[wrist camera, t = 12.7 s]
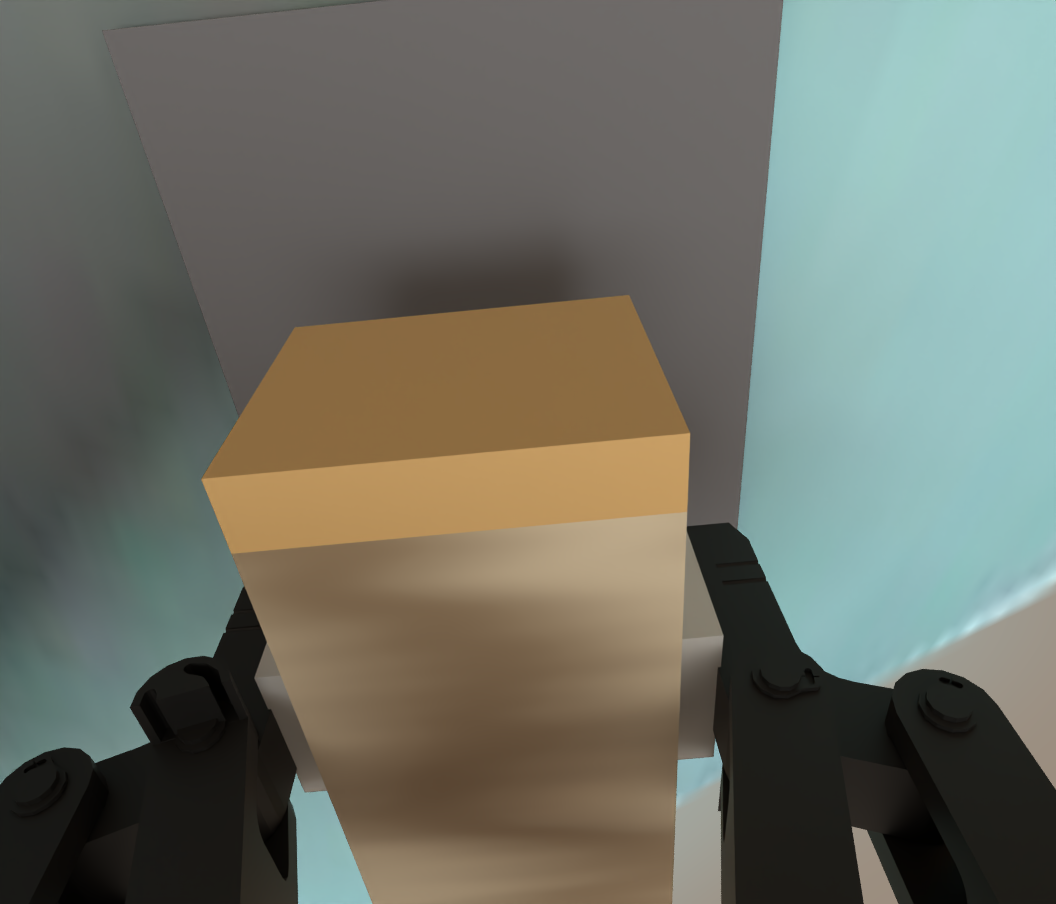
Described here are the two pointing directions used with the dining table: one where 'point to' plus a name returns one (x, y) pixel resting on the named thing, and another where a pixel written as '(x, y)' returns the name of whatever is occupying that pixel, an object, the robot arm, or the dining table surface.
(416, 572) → the maple block
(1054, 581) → the dining table surface
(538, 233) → the rubber mat
